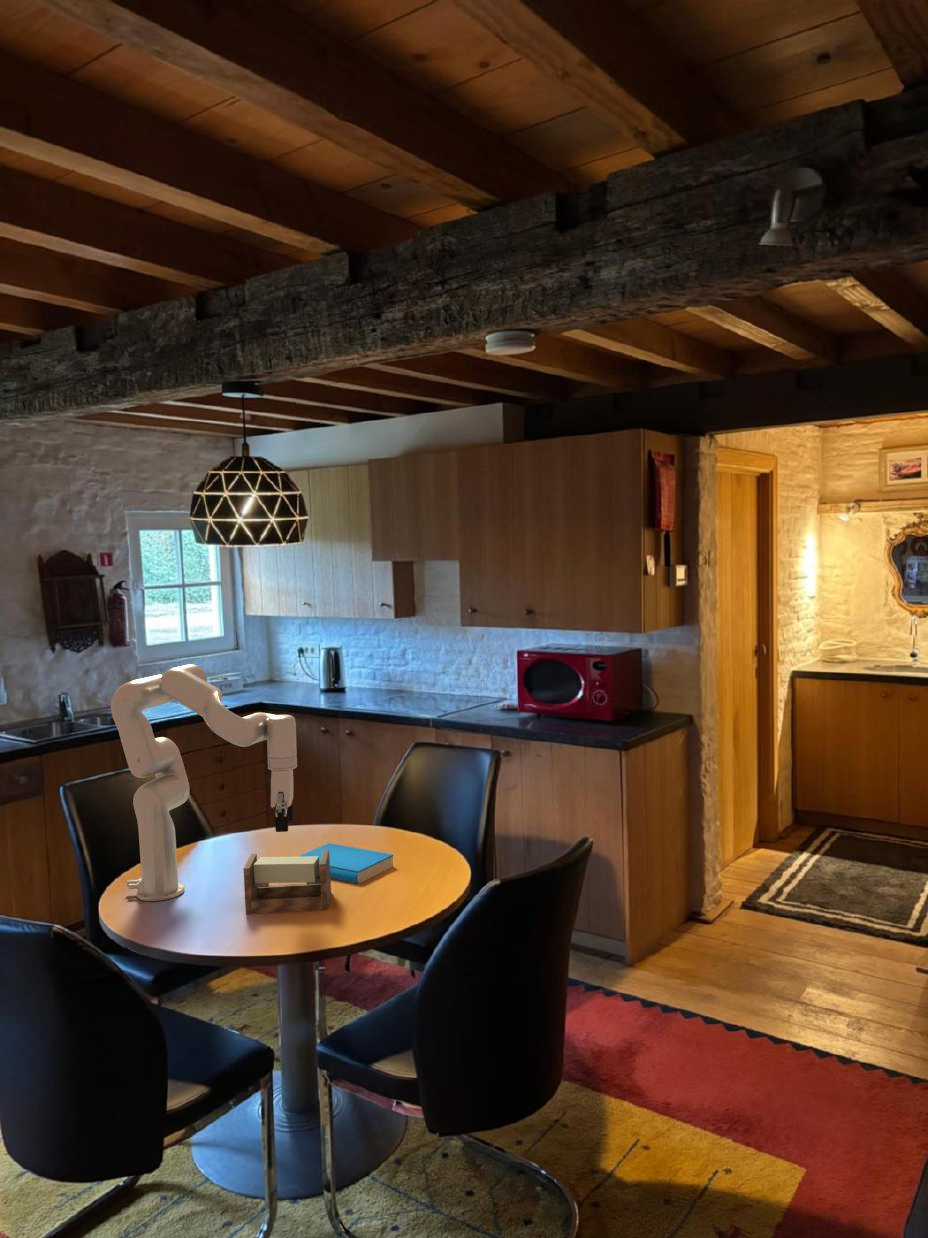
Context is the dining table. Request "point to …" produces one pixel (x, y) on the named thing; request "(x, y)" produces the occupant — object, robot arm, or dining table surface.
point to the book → (353, 862)
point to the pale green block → (286, 869)
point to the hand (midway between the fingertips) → (284, 826)
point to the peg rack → (287, 891)
